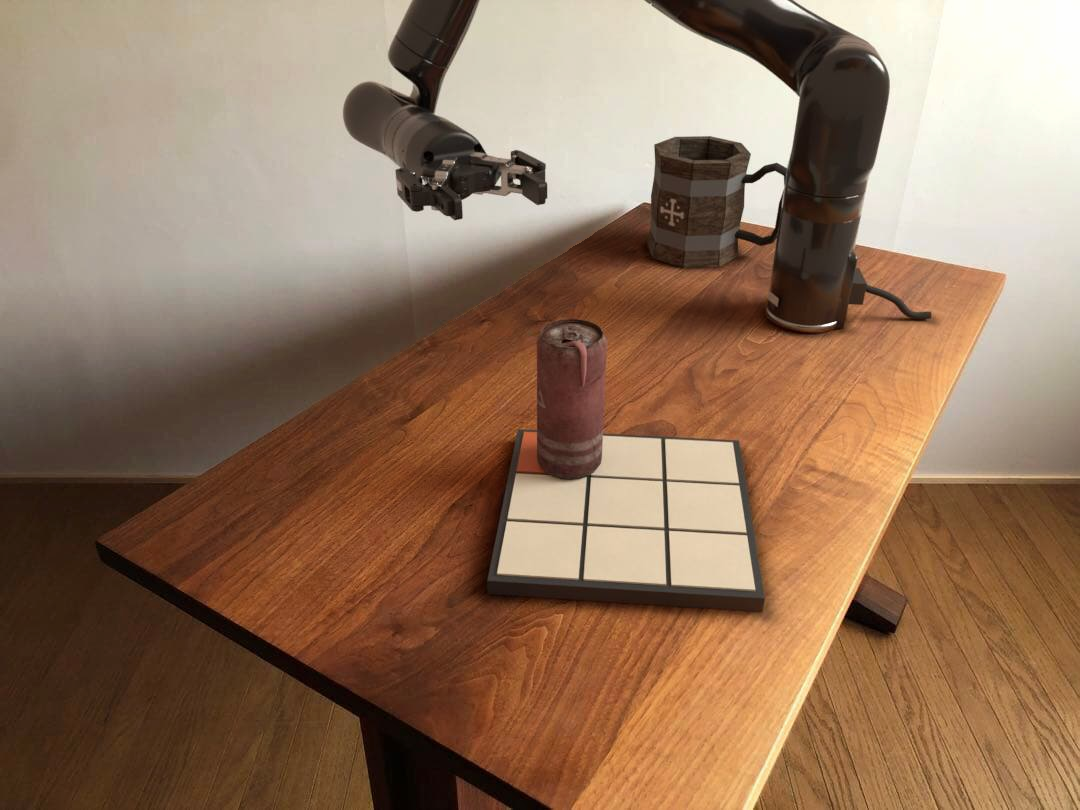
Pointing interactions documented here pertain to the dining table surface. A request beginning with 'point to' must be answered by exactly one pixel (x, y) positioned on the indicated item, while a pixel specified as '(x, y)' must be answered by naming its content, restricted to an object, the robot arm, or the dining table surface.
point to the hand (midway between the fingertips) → (501, 202)
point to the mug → (702, 201)
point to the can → (570, 398)
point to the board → (631, 527)
